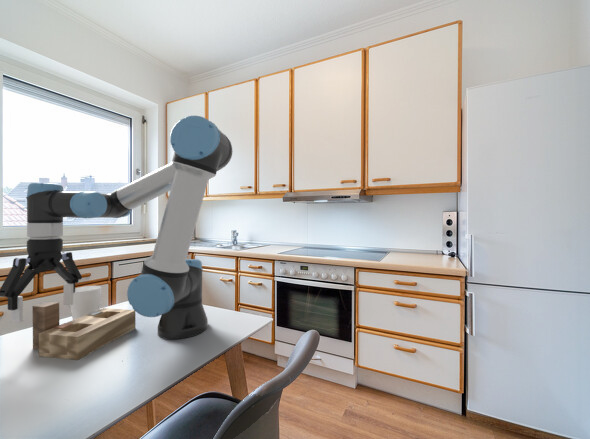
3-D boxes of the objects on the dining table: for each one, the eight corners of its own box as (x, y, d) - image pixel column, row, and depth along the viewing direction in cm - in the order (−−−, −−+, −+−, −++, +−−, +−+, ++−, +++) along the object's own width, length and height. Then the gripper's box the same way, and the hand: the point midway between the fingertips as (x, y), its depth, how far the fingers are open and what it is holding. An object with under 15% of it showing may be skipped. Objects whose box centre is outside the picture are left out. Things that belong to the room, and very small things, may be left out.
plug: (59, 343, 79) (59, 302, 79) (44, 350, 75) (44, 306, 75) (48, 342, 80) (47, 301, 79) (32, 348, 76) (32, 306, 76)
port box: (135, 328, 90) (135, 309, 89) (77, 359, 70) (77, 335, 70) (103, 325, 91) (103, 307, 91) (39, 356, 72) (38, 332, 72)
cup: (84, 329, 88) (84, 293, 88) (62, 327, 90) (61, 291, 90) (108, 319, 97) (108, 286, 97) (87, 317, 99) (87, 284, 99)
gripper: (76, 234, 90) (75, 298, 90) (-24, 241, 65) (-24, 329, 65) (95, 235, 89) (95, 299, 89) (2, 242, 64) (1, 331, 64)
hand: (44, 312), depth 77 cm, fingers open, 13 cm apart
